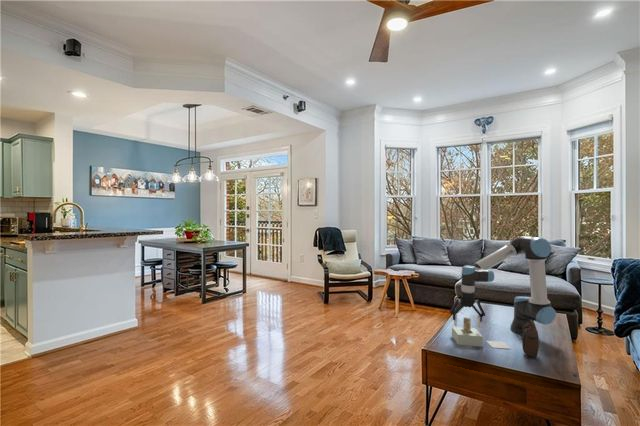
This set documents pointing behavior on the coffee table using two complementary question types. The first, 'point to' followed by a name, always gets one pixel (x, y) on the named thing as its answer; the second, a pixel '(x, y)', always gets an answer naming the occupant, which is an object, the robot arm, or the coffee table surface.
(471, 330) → the socket block
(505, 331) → the coffee table surface
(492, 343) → the coaster
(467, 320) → the peg
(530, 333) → the alarm clock
